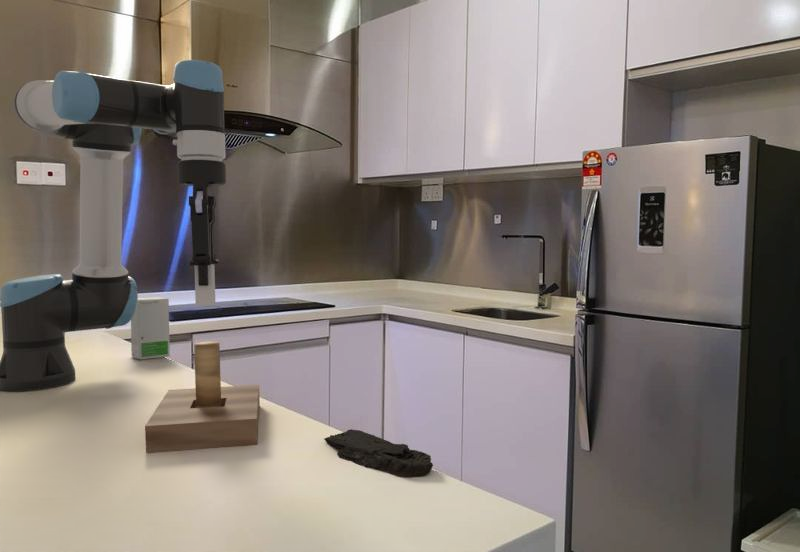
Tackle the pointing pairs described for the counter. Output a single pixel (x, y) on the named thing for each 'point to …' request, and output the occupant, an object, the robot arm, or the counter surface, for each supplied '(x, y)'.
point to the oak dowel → (207, 374)
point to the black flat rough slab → (380, 454)
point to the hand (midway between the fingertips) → (205, 304)
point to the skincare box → (150, 329)
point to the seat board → (204, 420)
